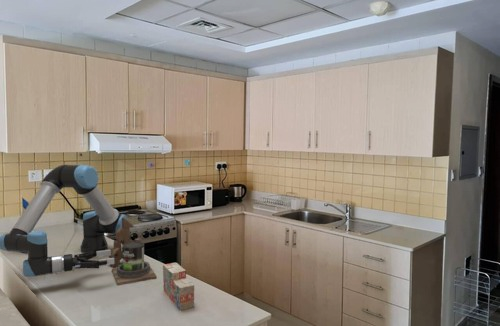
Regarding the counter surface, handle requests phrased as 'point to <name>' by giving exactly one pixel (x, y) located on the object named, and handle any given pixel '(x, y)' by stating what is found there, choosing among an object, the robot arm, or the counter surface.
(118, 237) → the wooden toy
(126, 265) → the coffee can
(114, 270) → the jig
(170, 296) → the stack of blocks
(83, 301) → the counter surface
